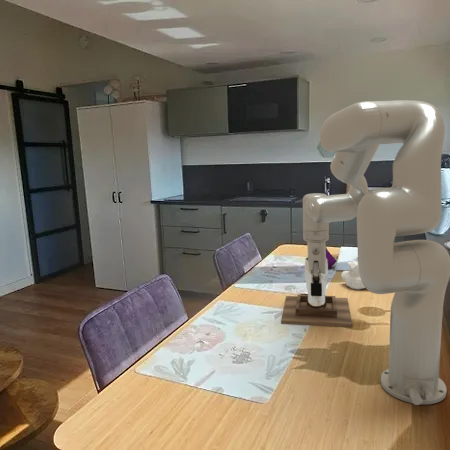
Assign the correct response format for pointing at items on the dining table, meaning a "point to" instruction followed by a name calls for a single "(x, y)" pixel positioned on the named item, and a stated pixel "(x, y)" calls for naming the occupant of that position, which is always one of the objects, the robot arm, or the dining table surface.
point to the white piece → (312, 301)
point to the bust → (353, 276)
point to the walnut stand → (316, 312)
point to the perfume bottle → (330, 259)
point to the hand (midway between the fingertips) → (316, 291)
